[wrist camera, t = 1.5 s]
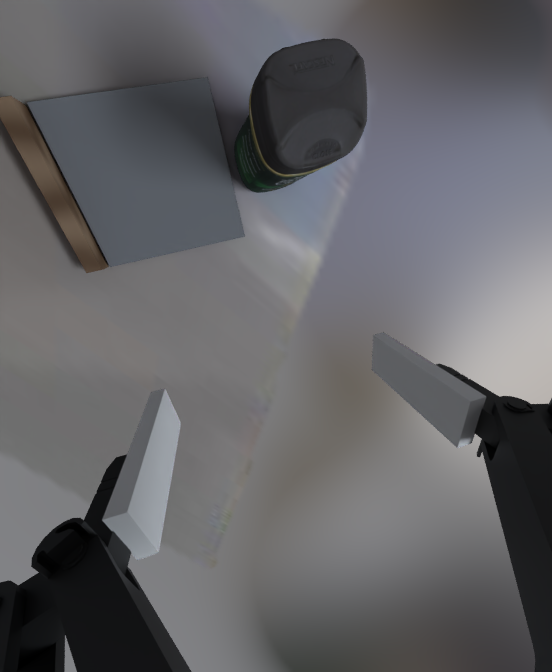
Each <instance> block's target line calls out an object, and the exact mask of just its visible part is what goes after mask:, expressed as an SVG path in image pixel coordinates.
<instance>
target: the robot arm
mask: <svg viewBox="0 0 552 672" xmlns="http://www.w3.org/2000/svg"><path fill="white" fill-rule="evenodd" d="M372 353H373V354H372V371H374V372H375V373H376V374H377V375H378V376H379V377H380V378H382V380H384V381H385V382H386V383H387V384H388V385H389V386H390V387H391V388H392V389H393V390H394V391H396V392H397V393H398V394H399V395H400V396H401V397H402V398H403V399H404V400H406V401H407V402H408V403H409V404H410V405H411V406H412V407H413V408H414V409H415V410H417V411H418V412H419V413H420V414H421V415H422V416H423V417H424V418H425V419H426V420H427V421H429V422H430V423H431V424H432V425H433V426H434V427H435V428H436V429H437V430H438V431H439V432H441V433H442V434H443V435H444V436H445V437H446V438H447V439H448V440H449V441H451V442H452V443H453V444H454V445H455V446H456V447H457V448H458V447H462V446H464V445H467V444H470V443H472V441H473V437H474V434H476V435H478V436H479V437H480V438H482V440H481V443H480V446H479V448H478V452H477V457H480V456H481V453H482V452H483V455H484V459H485V463H486V467H487V471H488V474H489V479H490V482H491V486H492V490H493V494H494V498H495V502H496V505H497V509H498V513H499V517H500V521H501V524H502V528H503V532H504V536H505V539H506V544H507V547H508V551H509V555H510V559H511V563H512V566H513V571H514V574H515V578H516V582H517V586H518V590H519V593H520V597H521V601H522V605H523V609H524V612H525V616H526V620H527V624H528V628H529V632H530V636H531V640H532V643H533V648H534V652H535V672H552V399H551V401H550V403H549V404H530V403H528V402H527V401H524V400H522V399H519V398H515V397H511V396H502V397H499V396H497V395H496V394H494V393H492V392H491V391H489V390H487V389H486V388H484V387H482V386H480V385H479V384H477V383H475V382H474V381H472V380H471V379H468V378H467V377H465V376H463V375H461V374H460V373H459V372H457V371H455V370H454V369H452V368H450V367H447V366H444V365H442V364H436V365H435V364H433V363H432V362H430V361H429V360H427V359H425V358H424V357H422V356H421V355H419V354H418V353H416V352H414V351H413V350H411V349H410V348H408V347H406V346H404V345H403V344H401V343H400V342H398V341H397V340H395V339H394V338H392V337H390V336H389V335H387V334H386V333H384V332H383V333H379V334H375V335H373V352H372ZM180 425H181V422H180V420H179V418H178V416H177V414H176V411H175V409H174V407H173V405H172V403H171V400H170V398H169V396H168V394H167V392H166V389H161V390H157V391H154V392H151V394H150V396H149V399H148V402H147V404H146V407H145V410H144V412H143V415H142V417H141V420H140V423H139V425H138V428H137V430H136V433H135V436H134V438H133V441H132V443H131V446H130V449H129V451H128V454H127V455H123V456H120V457H116V458H115V460H114V461H113V462H112V463H111V464H110V466H109V467H108V468H107V469H106V472H105V474H104V476H103V478H102V481H101V484H100V485H99V487H98V490H97V494H95V496H94V499H93V501H92V503H91V505H90V508H89V510H88V513H87V515H86V517H85V519H84V520H82V519H81V518H72V519H70V520H67V521H65V522H63V523H62V524H60V525H59V526H57V527H56V528H54V529H53V530H52V531H51V532H50V533H49V534H48V535H47V536H46V537H45V538H44V539H43V540H42V542H41V543H40V544H39V546H38V547H37V548H36V551H35V553H34V555H33V557H32V566H31V567H33V568H34V569H35V570H37V571H38V572H39V573H38V574H36V575H34V576H33V577H31V578H30V579H28V580H26V581H25V582H23V583H22V584H20V585H17V584H15V583H13V582H12V581H5V582H1V583H0V672H64V658H65V635H66V638H67V641H68V644H69V647H70V650H71V653H72V656H73V660H74V663H75V666H76V670H77V672H191V670H190V669H189V667H188V665H187V664H186V662H185V660H184V659H183V657H182V655H181V654H180V652H179V650H178V648H177V647H176V645H175V643H174V642H173V640H172V638H171V637H170V635H169V633H168V632H167V630H166V629H165V627H164V625H163V623H162V622H161V620H160V618H159V617H158V615H157V613H156V612H155V610H154V608H153V607H152V605H151V603H150V602H149V600H148V598H147V597H146V595H145V593H144V592H143V590H142V588H141V587H140V585H139V583H138V582H137V580H136V578H135V577H134V575H133V573H132V572H131V570H130V569H129V568H128V567H127V566H128V562H129V558H130V554H132V555H133V556H134V557H135V558H136V559H137V560H139V559H142V558H145V557H148V556H151V555H154V554H157V553H159V548H160V542H161V536H162V530H163V525H164V519H165V513H166V507H167V501H168V495H169V490H170V484H171V478H172V472H173V466H174V460H175V455H176V449H177V443H178V437H179V431H180Z"/></svg>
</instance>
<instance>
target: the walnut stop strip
mask: <svg viewBox="0 0 552 672" xmlns="http://www.w3.org/2000/svg"><path fill="white" fill-rule="evenodd" d="M0 119H1V120H2V122H3V124H4V126H5V128H6V129H7V131H8V133H9V135H10V137H11V138H12V140H13V142H14V144H15V146H16V147H17V149H18V151H19V153H20V154H21V156H22V158H23V160H24V162H25V163H26V165H27V167H28V169H29V171H30V172H31V174H32V176H33V178H34V180H35V181H36V183H37V185H38V187H39V189H40V190H41V192H42V194H43V196H44V198H45V199H46V201H47V203H48V205H49V207H50V208H51V210H52V212H53V214H54V216H55V217H56V219H57V221H58V223H59V225H60V226H61V228H62V230H63V232H64V234H65V235H66V237H67V239H68V241H69V242H70V244H71V246H72V248H73V250H74V251H75V253H76V255H77V257H78V259H79V260H80V262H81V264H82V266H83V268H84V269H85V271H86V273H89V272H94V271H98V270H102V269H105V268H107V267H108V265H107V263H106V261H105V259H104V257H103V255H102V253H101V251H100V249H99V247H98V245H97V243H96V241H95V239H94V237H93V235H92V233H91V231H90V229H89V227H88V225H87V223H86V221H85V219H84V217H83V216H82V214H81V212H80V210H79V208H78V206H77V204H76V202H75V200H74V198H73V196H72V194H71V192H70V190H69V188H68V186H67V184H66V182H65V180H64V178H63V176H62V174H61V172H60V170H59V168H58V166H57V164H56V162H55V160H54V158H53V156H52V155H51V153H50V151H49V149H48V147H47V145H46V143H45V141H44V139H43V137H42V135H41V133H40V131H39V129H38V127H37V125H36V123H35V121H34V119H33V117H32V115H31V113H30V111H29V109H28V107H27V106H26V105H24V104H23V103H21V102H20V101H18V100H16V99H15V98H13V97H12V96H7V97H0Z"/></svg>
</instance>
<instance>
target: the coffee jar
mask: <svg viewBox="0 0 552 672" xmlns="http://www.w3.org/2000/svg"><path fill="white" fill-rule="evenodd" d="M366 122H367V87H366V74H365V67H364V61H363V58H362V57H361V56H360V55H359V53H358V52H357V51H356V49H355V48H354V47H352V45H350V44H349V43H347V42H345V41H343V40H340V39H322V40H316V41H311V42H306V43H301V44H298V45H294V46H291V47H285V48H282V49H281V50H279V51H277V52H275V53H273V54H272V55H271V56H270V57H269V58H268V59H267V60H266V62H265V63H264V65H263V66H262V68H261V70H260V72H259V74H258V76H257V77H256V79H255V82H254V84H253V86H252V89H251V94H250V100H249V115H248V118H247V119H246V121H245V123H244V125H243V126H242V128H241V130H240V131H239V133H238V136H237V138H236V141H235V146H234V152H235V159H236V163H237V167H238V170H239V174H240V176H241V179H242V181H243V183H244V184H245V186H246V187H247V188H248V189H250V190H251V191H254V192H258V193H259V192H268V191H273V190H277V189H280V188H283V187H286V186H288V185H290V184H292V183H294V182H296V181H297V180H299V179H301V178H303V177H305V176H307V175H309V174H311V173H313V172H315V171H317V170H319V169H321V168H323V167H325V166H328V165H330V164H332V163H334V162H335V161H337V160H338V159H340V158H342V157H344V156H346V155H347V154H348V153H350V152H351V151H352V150H353V148H354V147H355V146H356V145H357V143H358V142H359V140H360V138H361V136H362V133H363V131H364V127H365V125H366Z"/></svg>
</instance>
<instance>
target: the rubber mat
mask: <svg viewBox="0 0 552 672" xmlns="http://www.w3.org/2000/svg"><path fill="white" fill-rule="evenodd" d="M27 104H28V106H29V108H30V110H31V112H32V114H33V115H34V117H35V119H36V121H37V123H38V125H39V127H40V129H41V131H42V133H43V135H44V137H45V139H46V141H47V143H48V145H49V147H50V149H51V151H52V153H53V155H54V157H55V159H56V161H57V163H58V165H59V167H60V169H61V171H62V173H63V175H64V177H65V179H66V181H67V183H68V185H69V187H70V189H71V191H72V193H73V195H74V197H75V199H76V201H77V203H78V204H79V206H80V208H81V210H82V212H83V214H84V216H85V218H86V220H87V222H88V224H89V226H90V228H91V230H92V232H93V234H94V236H95V238H96V240H97V242H98V244H99V246H100V248H101V250H102V252H103V254H104V256H105V258H106V260H107V262H108V264H109V266H110V267H112V266H117V265H121V264H126V263H130V262H134V261H139V260H143V259H148V258H152V257H156V256H161V255H165V254H170V253H174V252H178V251H183V250H187V249H191V248H196V247H200V246H205V245H209V244H213V243H218V242H222V241H227V240H231V239H235V238H240V237H244V236H245V234H244V230H243V226H242V222H241V217H240V213H239V209H238V205H237V200H236V196H235V192H234V188H233V183H232V179H231V175H230V171H229V166H228V162H227V158H226V154H225V149H224V145H223V141H222V137H221V132H220V128H219V124H218V119H217V115H216V111H215V107H214V102H213V98H212V94H211V90H210V85H209V81H208V77H205V78H198V79H191V80H183V81H176V82H169V83H162V84H155V85H147V86H140V87H133V88H126V89H119V90H112V91H104V92H97V93H90V94H83V95H76V96H68V97H61V98H54V99H47V100H40V101H32V102H27Z"/></svg>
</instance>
